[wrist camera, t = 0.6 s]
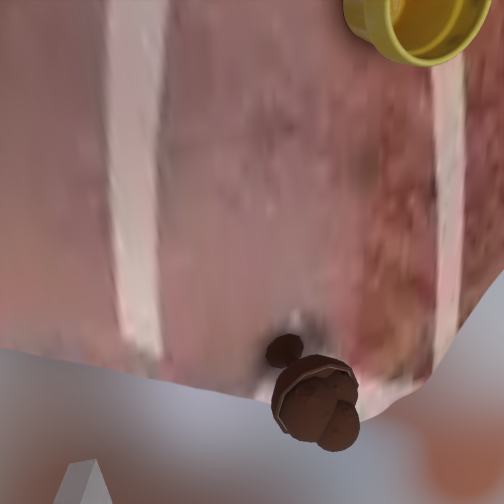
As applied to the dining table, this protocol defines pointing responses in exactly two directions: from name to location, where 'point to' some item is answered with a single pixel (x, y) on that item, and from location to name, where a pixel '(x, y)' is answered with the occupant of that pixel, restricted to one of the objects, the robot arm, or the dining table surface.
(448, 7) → the plant pot
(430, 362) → the dining table surface
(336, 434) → the ice cream bowl
